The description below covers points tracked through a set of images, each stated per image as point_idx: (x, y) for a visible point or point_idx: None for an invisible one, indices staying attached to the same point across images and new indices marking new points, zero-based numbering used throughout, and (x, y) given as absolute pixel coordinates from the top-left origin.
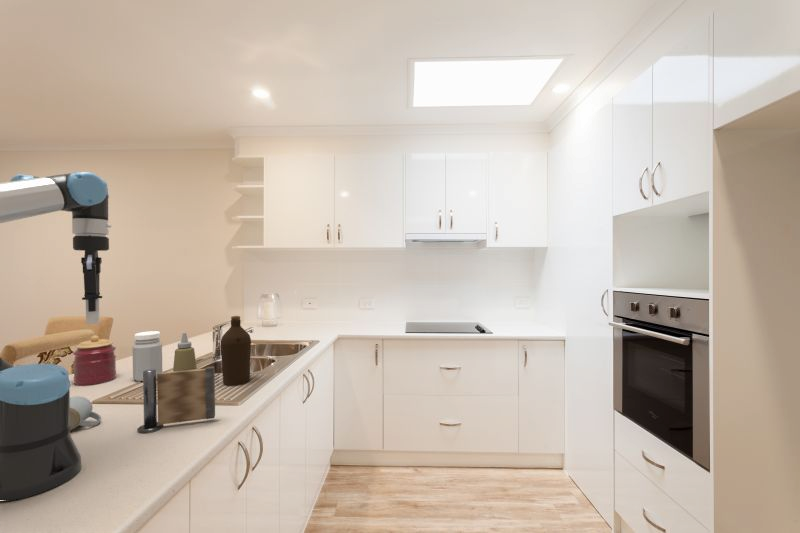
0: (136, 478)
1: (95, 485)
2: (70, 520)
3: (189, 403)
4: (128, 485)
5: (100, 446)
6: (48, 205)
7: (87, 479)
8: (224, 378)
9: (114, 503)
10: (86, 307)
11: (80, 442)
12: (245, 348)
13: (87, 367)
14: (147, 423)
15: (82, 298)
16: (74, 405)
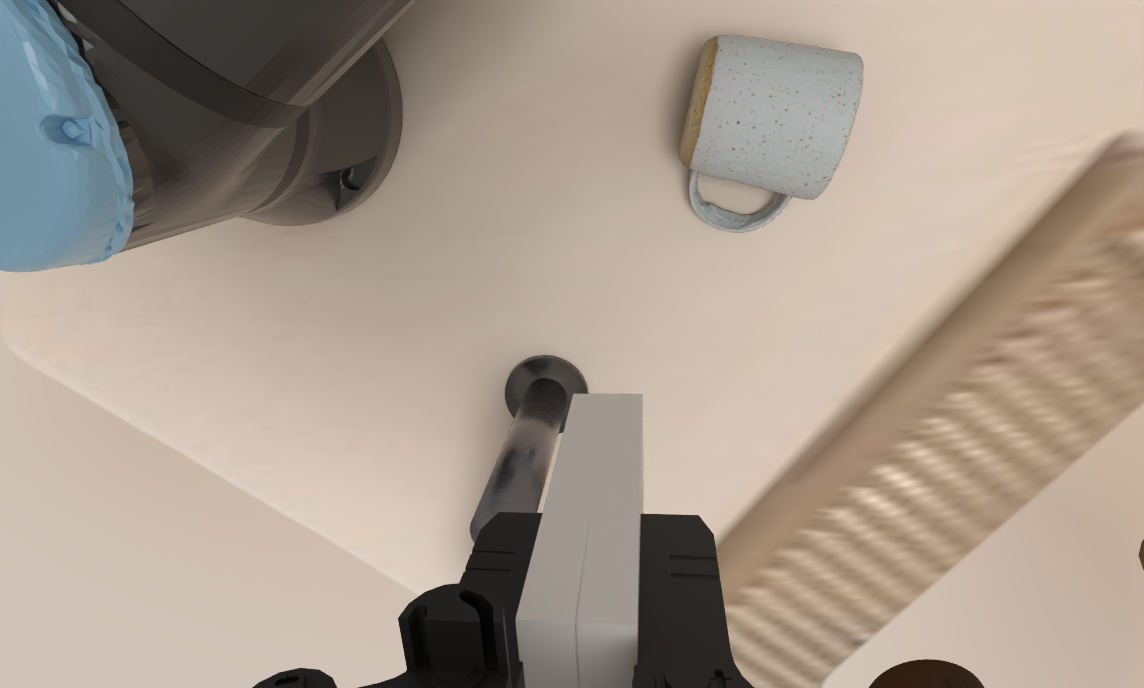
0: (192, 360)
1: (190, 271)
2: None
3: None
4: (162, 344)
5: (466, 253)
6: None
7: (233, 247)
8: (922, 685)
9: (87, 320)
10: (541, 526)
11: (544, 183)
12: None
13: None
14: (523, 397)
15: (410, 611)
16: (723, 145)
